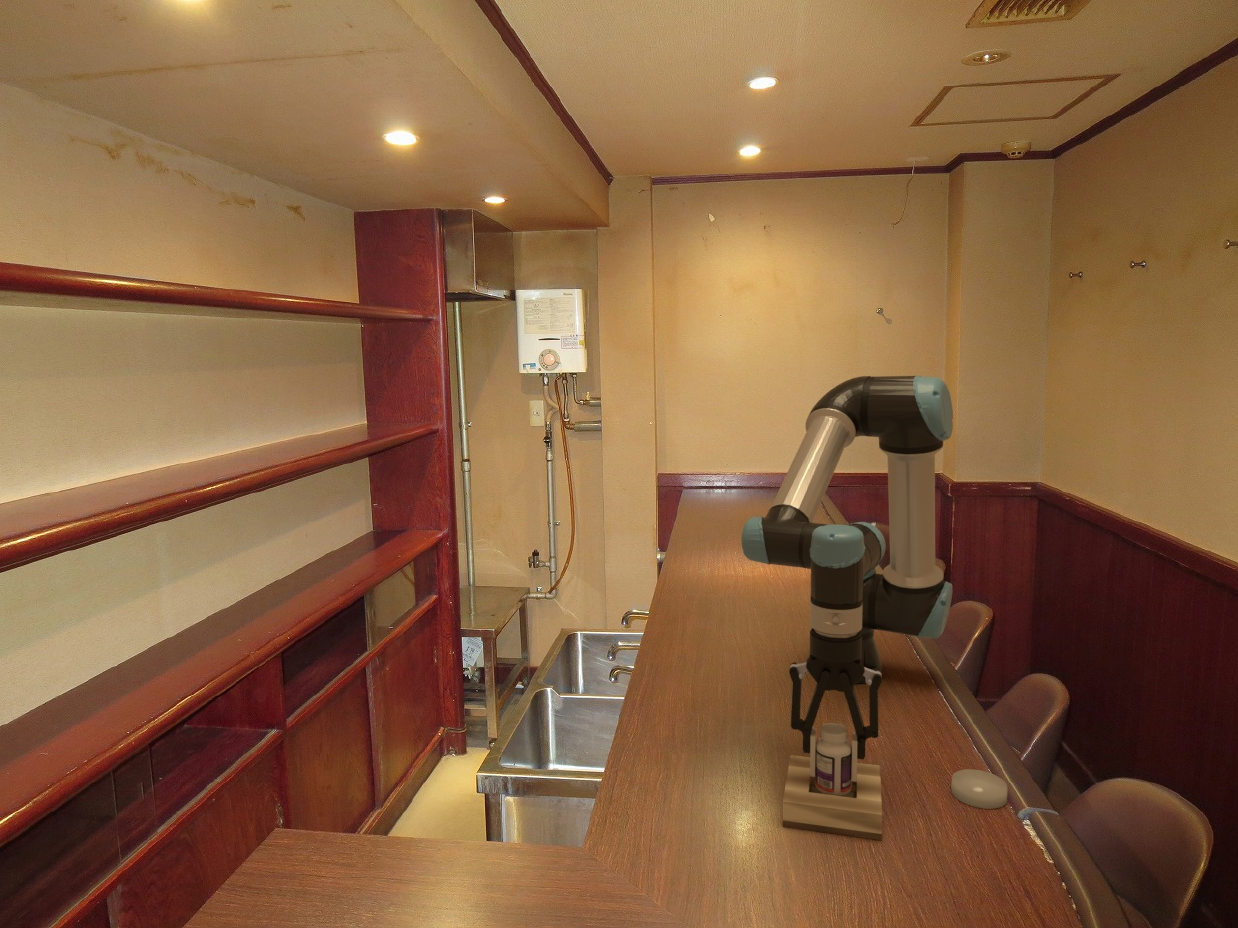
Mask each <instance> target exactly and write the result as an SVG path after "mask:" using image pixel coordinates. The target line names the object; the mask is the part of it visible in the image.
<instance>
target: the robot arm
mask: <svg viewBox="0 0 1238 928" xmlns="http://www.w3.org/2000/svg"><path fill="white" fill-rule="evenodd" d="M953 410H954V409H953V401H952V398H951V393H950V389H949V387H948V385H947V384H946V382H945V381H944V380H943V379H942V378H939V377H936V376H934V377H933V376H921V375H895V376H894V375H891V376H890V375H887V376H883V375H882V376H871V375H864V376H862V375H861V376H856V377H852V378H850V379H847V380H845V381H843V382H841V383H839V384H837V385H836V386H834V387H833V388H832V389H830V390H829V391H827V392H826V393H825V394H824V395H823V396H822V397H820V399H819V400H817V402H816V403H815V405H814V406H813V407H812V408H811V411H810V412H809V414H808V416H807V418H806V421H805V432H806V433H805V434H804V437H803V439H802V441H801V443H800V445H799V448H798V449H797V452H796V453H795V456H794V458H793V459H792V462H791V464H790V466H789V468H788V470H787V472H786V474H785V476H784V479H783V480H782V483H781V485H780V487H779V490H778V492H777V494H776V496H775V497H774V499H773V502H772V504H771V506H770V508H769V510H768V511H767V513H766V516H764V517H763V516H762V515H761V516H752V517H750V518H749V519H747V520H746V522H745V523H744V526H743V528H742V531H741V533H742V534H741V548H742V553H743V555H744V557H746V559H748V560H749V561H752V562H755V563H760V564H761V563H762V564H766V565H776V566H784V567H794V568H802V569H808V570H810V599H809V603H810V604H809V608H810V610H809V611H810V612H809V625H810V627H811V629H810V630H809V656H808V657H807V659H806V662H801V663H797V662H796V661H795V662H794V661H793V662H791V663H790V666H789V671H788V673H789V676H790V679H791V682H792V690H791V691H792V693H791V711H790V712H791V715H790V727H791V729H792V730H794V731H795V730H797V731H800V732H801V733H802V752H803V753H804V754H809V755H810V756H809V757H810V776H813V777H815V765H816V742H817V728H814V723H815V721H816V718H817V715H818V712H819V709H820V707H821V702H822V699H823V697H824V695H825V692H826V691H827V692H828V691H836V692H841V693H844V698H845V699H846V702H847V706H848V710H849V713H850V716H851V719H852V720H851V721H852V725H853V727H854V731H855V732H852V734H851V740H852V741H851V746H852V777H851V781H854V782H857V763H858V760H865V757H866V741H867V740H868V739H870V738H872V739H876V738H878V737H879V696H878V695H879V689H880V687H881V684H882V681H883V677H882V675H883V674H882V670H883V669H882V660H881V656H880V653H879V650H878V647H877V644H876V641H875V636H874V635H875V634H874V633H875V631H876V630H877V631H882V632H888V633H894V634H899V635H900V634H901V635H908V636H913V637H916V638H918V639H919V638H927V639H928V638H929V639H937V638H940V636H942V634H943V632H944V630H945V628H946V624H947V620H948V616H949V613H950V608H951V604H952V597H953V584H952V583H951V582H948V581H946V580H944V579H945V578H944V571H943V570H942V569H941V568H940V567H939V566H938V565H936V462H935V461H936V454H938V453H939V452H940V451H941V450H942V449H943V448H944V441H946V440H949V439H950V438H951V437H952V434H953V428H954V422H953V419H954V413H953ZM858 437H868V438H869V437H873V438H878V448H879V450H880V451H881V452H883V453H884V454H885V455H886V456H887V483H888V484H887V489H888V492H887V493H888V522H889V523H888V524H889V525H888V526H889V529H888V530H889V531H888V532H889V559H890V560H889V564H888V565H887V566H885V567H884V568H883V570H882V573H878V572H877V569H876V567H877V566H878V565H879V564H880V563H881V561H882V559H883V557H884V556H885V552H886V547H887V546H886V541H885V537H884V535H883V534H882V531H880V530H879V529H878V528H877V526H875V525H873V524H871V523H869V522H865V521H859V522H858V521H857V522H853V523H850V524H834V523H833V524H828V523H819V522H814V519H815V516H817V512H818V510H819V508H820V505H821V503H822V501H823V498H824V496H825V493H826V491H827V489H828V487H829V485H830V482H831V480H832V478H833V475H834V472H835V471H836V468H837V466H838V465H839V461H840V459H841V458H842V455H843V453H844V450H845V448H847V447H849V446H850V445H851V444H852V443H853V442H854V441H855V439H856V438H858ZM807 672H808V673H809V674H810V676H811V677H812V679H813V680H814V681H815V683H816V684H815V687H814V691H813V694H812V697H811V699H810V704H809V706H808V709H807V712H806V715H805V718H804V719H802V718H801V705H802V704H801V703H802V685H803V683H802V682H803V681H802V679H803V680H804V678H805V676H806V673H807ZM856 684H866V685H868V697H869V698H868V700H869V701H868V705H869V706H868V707H869V708H868V710H869V715H868V717H869V725H865V723H864V720H863V716H862V712H861V709H860V705H859V702H858V697H857V695H856V691H855V687H854V685H856Z"/></svg>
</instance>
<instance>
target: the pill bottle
mask: <svg viewBox="0 0 1238 928" xmlns="http://www.w3.org/2000/svg"><path fill="white" fill-rule="evenodd" d="M819 734H820V737H819V738H818V739H816V765H815V784H816V788H817V789H818V790H819V791H820V792H821V793H823V794H827V795H835V796H844V795H847V794H848V793H849V792H850V791H851V786H852V781H851V777H852V743H850V741H849V740H848V738H849V737H848V736H849V735H848V734H849V733H848V728H847V727H846V726H845V725H843V724H840V723H836V722H827V723H824V724H822V725H821V726H820V733H819Z"/></svg>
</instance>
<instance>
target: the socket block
mask: <svg viewBox="0 0 1238 928" xmlns="http://www.w3.org/2000/svg"><path fill="white" fill-rule="evenodd" d="M788 761H789V762H788V768H787V773H786V779H785V787H784V793H783V798H782V827H783V828H791V829H798V830H803V831H804V830H806V831H812V832H820V833H825V834H826V833H827V834H833V835H841V836H848V837H855V838H861V839H870V840H877V841H882V839H883V838H882V837H883V836H882V834H883V829H882V828H883V803H882V802H883V801H882V783H881V782H882V781H881V780H882V779H881V765H880V764H879V765H878V764H871V763H860V762H857V782H854V781H852V786H851V791H850V792H849V793H848V794H847V795H844V796H835V795H827V794H823V793H821V792H820V791H819V790H818V789H817V788H816V784H815V777H813V776H810V756H801V755H792V754H790V755H789V760H788Z"/></svg>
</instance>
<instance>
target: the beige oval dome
mask: <svg viewBox="0 0 1238 928" xmlns="http://www.w3.org/2000/svg"><path fill="white" fill-rule="evenodd" d="M950 788H951V793H952V795H953V796H954V798H956V799H957V800H958V801H959V802H961V803H963V804H965V805H968V806H969V807H970V806H971V807H973V808H978V809H985V810H991V809H992V810H994V809H999V808H1002V807H1003V806H1005V804H1007V802H1008V785H1007V783H1006V781H1005V780H1003V779H1002V778H1001V777H1000V776H998V775H996V774H993V773H991V772H988V771H984V770H982V769H981V770H980V769H973V768H972V769H971V768H970V769H969V768H967V769H966V768H965V769H961V770H958V771H955V772H954V773H953V774H952V775H951V787H950Z"/></svg>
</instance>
